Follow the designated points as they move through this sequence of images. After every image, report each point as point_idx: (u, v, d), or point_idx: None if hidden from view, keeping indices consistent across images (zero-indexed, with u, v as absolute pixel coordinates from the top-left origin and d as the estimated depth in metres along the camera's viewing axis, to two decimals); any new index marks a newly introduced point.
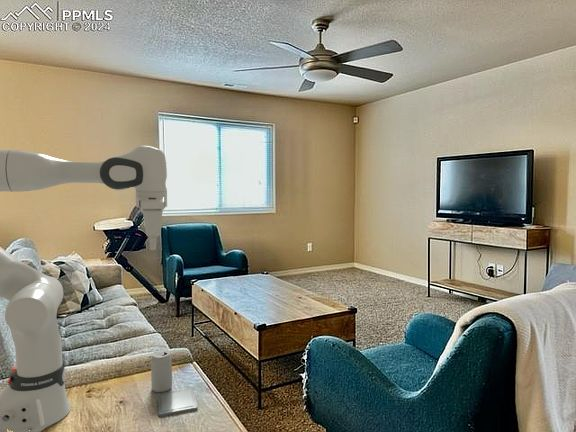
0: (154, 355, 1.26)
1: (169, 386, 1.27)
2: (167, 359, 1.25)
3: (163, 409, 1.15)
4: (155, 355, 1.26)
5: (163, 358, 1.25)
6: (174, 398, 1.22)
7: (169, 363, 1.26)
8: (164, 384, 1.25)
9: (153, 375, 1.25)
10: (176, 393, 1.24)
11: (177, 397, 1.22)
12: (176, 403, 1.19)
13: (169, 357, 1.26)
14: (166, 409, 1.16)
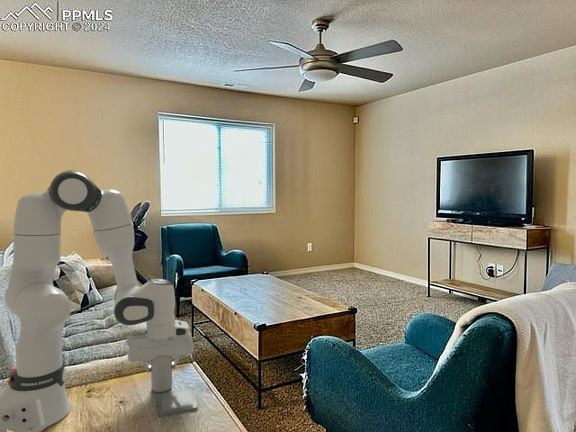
0: None
1: (169, 386, 1.27)
2: (167, 359, 1.25)
3: (163, 409, 1.15)
4: None
5: (163, 358, 1.25)
6: (174, 398, 1.22)
7: (169, 363, 1.26)
8: (164, 384, 1.25)
9: (153, 375, 1.25)
10: (176, 393, 1.24)
11: (177, 397, 1.22)
12: (176, 403, 1.19)
13: (169, 357, 1.26)
14: (166, 409, 1.16)
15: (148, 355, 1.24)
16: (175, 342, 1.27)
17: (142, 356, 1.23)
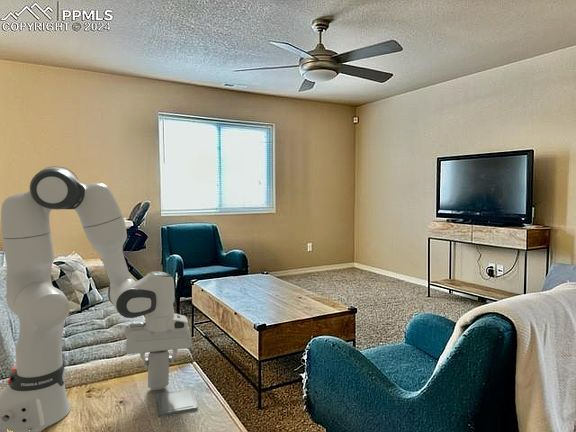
0: (152, 352, 1.26)
1: (166, 383, 1.26)
2: (165, 356, 1.25)
3: (163, 409, 1.15)
4: (153, 352, 1.26)
5: (161, 354, 1.25)
6: (174, 398, 1.22)
7: (167, 360, 1.26)
8: (161, 381, 1.25)
9: (150, 372, 1.25)
10: (176, 393, 1.24)
11: (177, 397, 1.22)
12: (176, 403, 1.19)
13: (167, 354, 1.26)
14: (166, 409, 1.16)
15: (146, 347, 1.24)
16: (173, 335, 1.26)
17: (140, 348, 1.23)
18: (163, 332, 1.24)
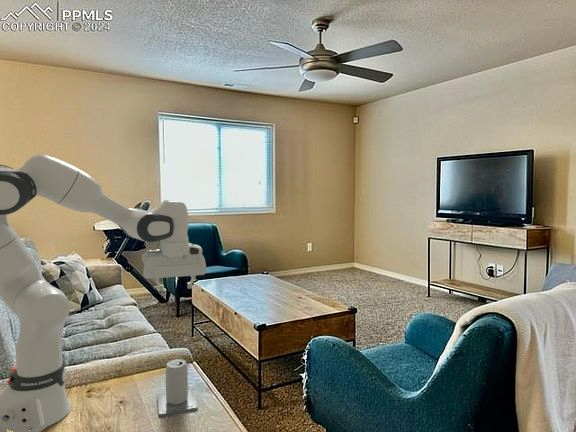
0: (169, 365, 1.18)
1: (185, 397, 1.19)
2: (183, 369, 1.17)
3: (163, 409, 1.15)
4: (170, 365, 1.18)
5: (180, 368, 1.17)
6: None
7: (185, 373, 1.18)
8: (181, 395, 1.17)
9: (169, 387, 1.17)
10: None
11: None
12: None
13: (185, 367, 1.19)
14: (166, 409, 1.16)
15: (163, 273, 1.29)
16: (188, 261, 1.31)
17: (157, 273, 1.28)
18: (179, 258, 1.29)
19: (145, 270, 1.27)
